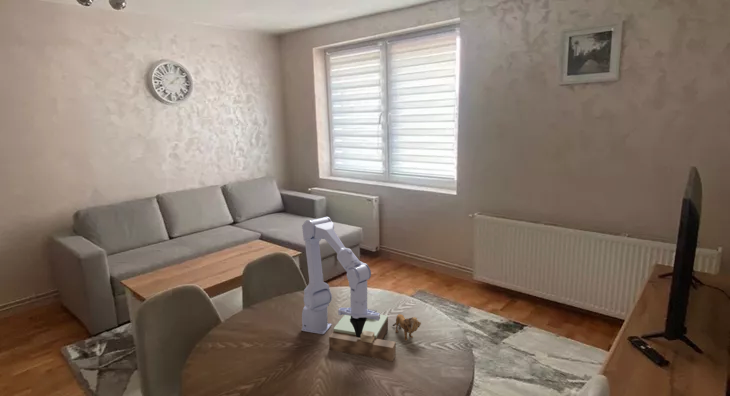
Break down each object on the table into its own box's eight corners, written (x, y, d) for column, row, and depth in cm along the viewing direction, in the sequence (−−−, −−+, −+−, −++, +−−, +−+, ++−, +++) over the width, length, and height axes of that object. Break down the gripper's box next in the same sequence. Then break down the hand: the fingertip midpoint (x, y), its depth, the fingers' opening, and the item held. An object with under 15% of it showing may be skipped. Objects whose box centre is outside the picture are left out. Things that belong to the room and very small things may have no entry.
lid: (333, 331, 150) (333, 322, 150) (348, 312, 165) (348, 303, 165) (376, 338, 145) (376, 329, 145) (387, 317, 160) (388, 309, 160)
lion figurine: (422, 340, 154) (423, 318, 152) (411, 345, 151) (412, 322, 149) (397, 324, 166) (397, 303, 164) (386, 328, 163) (386, 307, 161)
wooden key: (360, 341, 144) (360, 334, 143) (363, 337, 146) (363, 330, 146) (371, 343, 142) (371, 336, 142) (374, 338, 145) (374, 332, 145)
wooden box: (329, 350, 148) (329, 336, 147) (348, 324, 166) (348, 312, 165) (392, 361, 141) (392, 347, 140) (405, 333, 159) (405, 320, 158)
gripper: (334, 301, 141) (335, 338, 144) (375, 307, 137) (375, 345, 139) (342, 293, 148) (342, 328, 150) (381, 298, 143) (381, 335, 146)
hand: (359, 336), depth 145 cm, fingers closed
